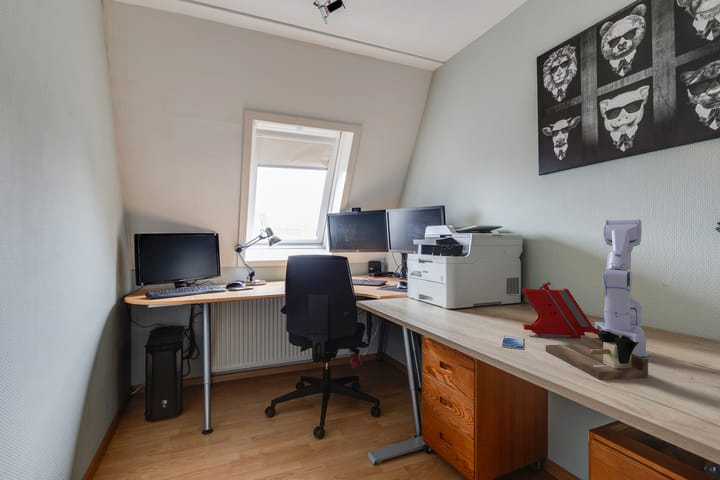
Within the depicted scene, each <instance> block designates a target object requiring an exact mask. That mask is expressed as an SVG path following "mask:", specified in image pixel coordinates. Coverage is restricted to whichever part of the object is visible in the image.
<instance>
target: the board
mask: <svg viewBox="0 0 720 480" xmlns="http://www.w3.org/2000/svg"><path fill="white" fill-rule="evenodd" d="M585 335H586V334H585ZM585 335H582V336H581V338H580V344H579V343H577V344H545V352H547V353H549V354H551V355H552V356H554V357H556V358H558V359H560V360H561V361H564V362H565V363H568V364H570V366H573V367H575V368H577V369H579V370H580V371H583V372H584V373H585V374H588V375H589V376H591V377H593V378H595V379H598V380H623V379H625V380H626V379H648V378H649V359H648V358H646V357H644V356H637V355H635V354H631V368H612V367H610V366H608V365H606V364H604V363H603V354H595V355H592V354H591V353H590V350H591V349H603V344H602V342H601V340H598V339H596V338H593V337H590V336H588V335H586V336H585Z"/></svg>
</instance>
